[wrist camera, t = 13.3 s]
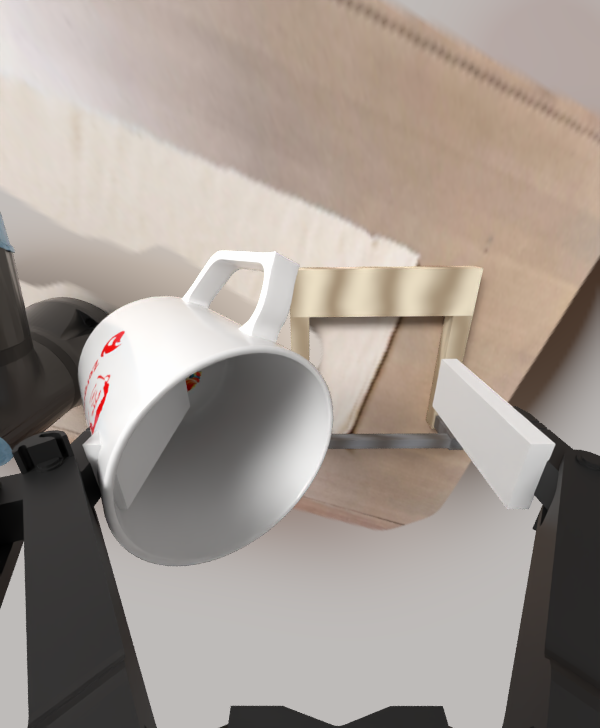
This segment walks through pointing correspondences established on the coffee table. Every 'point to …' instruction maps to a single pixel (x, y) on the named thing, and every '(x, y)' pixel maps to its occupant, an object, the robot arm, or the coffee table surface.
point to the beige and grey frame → (390, 298)
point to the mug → (207, 414)
